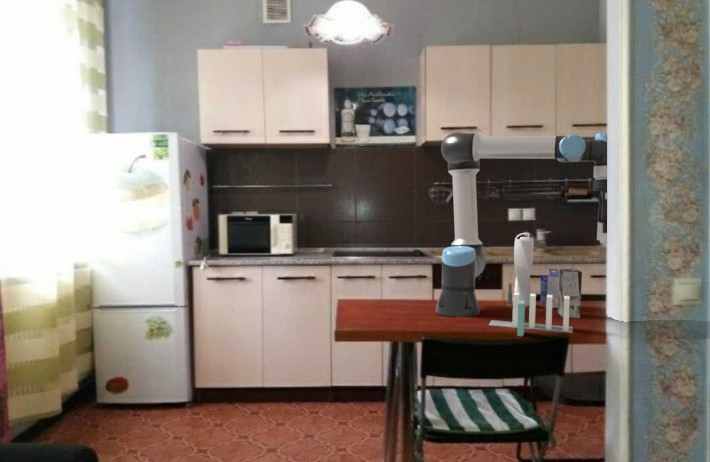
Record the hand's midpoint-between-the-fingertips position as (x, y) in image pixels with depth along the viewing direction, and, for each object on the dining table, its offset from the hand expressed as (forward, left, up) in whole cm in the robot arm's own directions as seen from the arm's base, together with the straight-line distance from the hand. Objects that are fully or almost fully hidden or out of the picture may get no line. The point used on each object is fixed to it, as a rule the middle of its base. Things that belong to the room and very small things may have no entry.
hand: (602, 241), depth 187 cm
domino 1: (-26, -23, -26) cm, 44 cm away
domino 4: (-11, -23, -26) cm, 37 cm away
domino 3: (-16, -23, -26) cm, 39 cm away
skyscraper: (-27, +15, -27) cm, 41 cm away
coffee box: (-10, +3, -27) cm, 29 cm away
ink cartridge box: (-15, +18, -27) cm, 35 cm away
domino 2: (-21, -23, -26) cm, 41 cm away
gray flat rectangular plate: (-21, -23, -27) cm, 41 cm away
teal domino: (-23, -36, -27) cm, 50 cm away
